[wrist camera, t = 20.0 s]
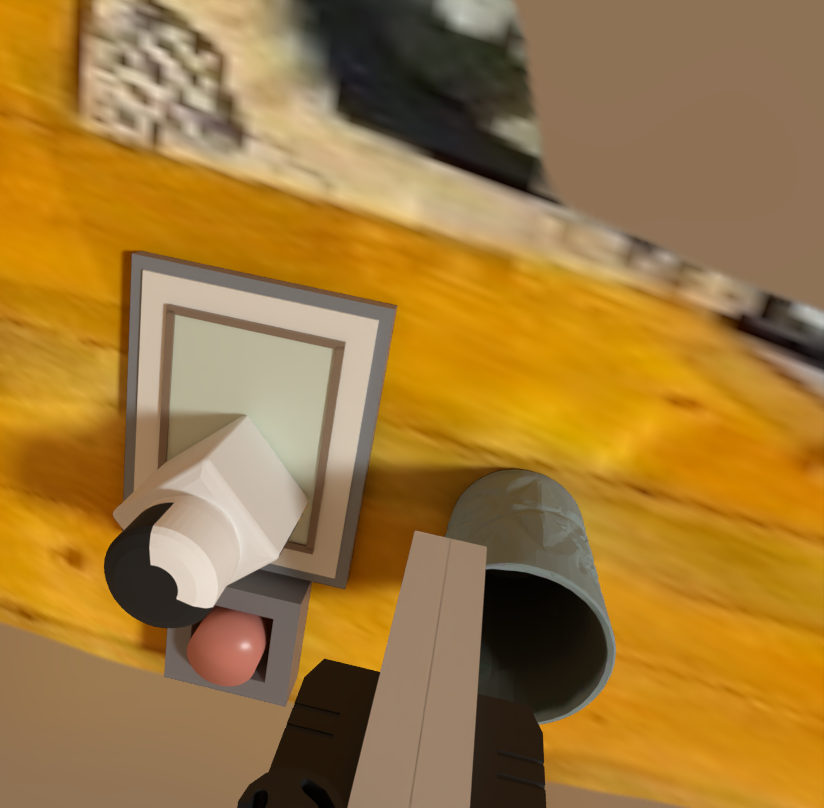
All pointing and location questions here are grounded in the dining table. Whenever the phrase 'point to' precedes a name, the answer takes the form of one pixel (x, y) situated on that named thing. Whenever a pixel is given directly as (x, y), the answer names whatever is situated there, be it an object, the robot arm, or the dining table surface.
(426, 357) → the dining table surface
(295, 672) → the button housing
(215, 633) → the button
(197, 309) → the picture board
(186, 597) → the medicine bottle
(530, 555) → the grey cylindrical container
